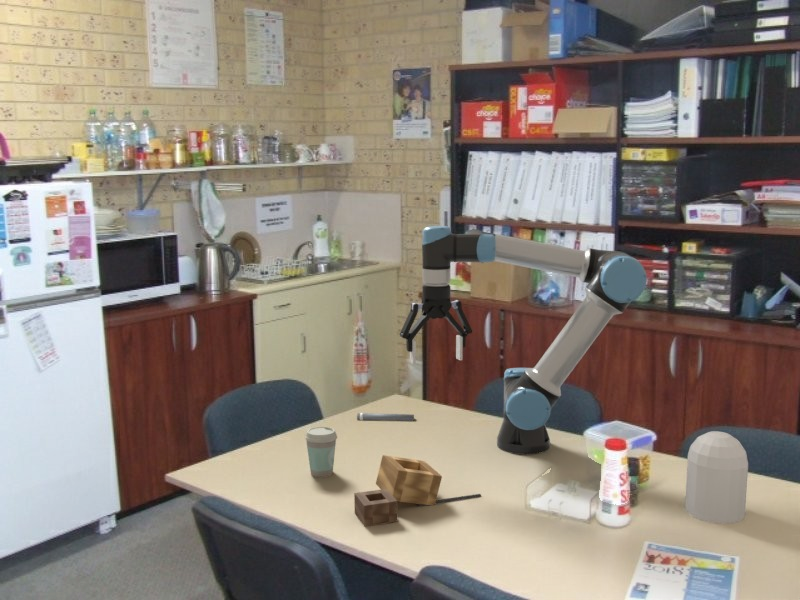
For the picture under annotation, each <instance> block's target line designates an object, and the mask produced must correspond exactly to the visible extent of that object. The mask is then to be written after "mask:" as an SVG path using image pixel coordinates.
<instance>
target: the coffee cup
mask: <svg viewBox="0 0 800 600" xmlns="http://www.w3.org/2000/svg"><path fill="white" fill-rule="evenodd" d="M304 439H305V441H306V448H307V454H308V461H309V469H310V471H309V472H310V475H311V476H312V477H315V478H326V477H330V476H331V475H333V473H334V466H335V453H336V445H337V439H338V435H337V431H336V429H334V428H333V427H330V426H315V427H311V428H309V429H307V431H306V433H305V437H304Z"/></svg>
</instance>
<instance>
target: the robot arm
mask: <svg viewBox="0 0 800 600" xmlns="http://www.w3.org/2000/svg"><path fill="white" fill-rule="evenodd" d="M421 241H422V243H421V248H422V249H421V252H422V259H421V260H422V283H423V284H422V287H421V289H422V296H421V297H422V301H421V303H416V302H411V304H410V310H409V312H408V315H407V317H406V320H405V322H404V324H403V326H402V329H401V330H400V332H399V337H401V338H403V339H405V340H406V344H405V345H406V348H405V349H406V351H407V352H409V363H410V364H411V365H416V364H417V358H416V357H417V350H416V348H417V347H416V346H417V345H416V344H417V342H416V339H414V338H415V337H416V335H417V334H418V333H419V332H420V330H421V329H422V327H423V326H424V325H425V324H426V323H427V322H428V321H429V320H430V319H431V320H436V319H444V318H445V320H447V321H448V323H449V324H450V325H451V326H452V327H453V328H454V330H455V331H456V332H457V333H458V334H456V336H455V358H456V360H459V361H463V348H466V338H467V336H468V335H469V334H472V333H473V329H472V327H471V325H470V323H469V320H468V319H467V317H466V314H465V312H464V310H463V305H462V301H461V300H458V299H454V301H453V300H452V301H451V285H450V283H451V263H480V264H484V263H493V262H498V263H503V264H509V265H513V266H516V267H517V266H518V267H524V268H529V269H534V270H538V271H543V272H549V273H552V274H553V273H554V274H558V275H564V276H567V277H574V278H578V279H579V280H580V282H581V283H585V284H587V285H586V286H585V292H586V296H585V298H583V301H582V302H581V303H580V304H579V306H578V307H577V308H576V309H575V311H574V312H573V314H572V315H571V316H570V318H569V319H568V321H567V322H566V323H565V325H564V326H563V328H562V329H561V330H560V332H559V333H558V335H556V336H555V339H554V340H553V342H551V344H550V346H549V347H548V348H547V349H546V350H545V352H544V354H543V355H542V357H540V359H539V361H538V362H537V363H536V365H535V366H534V367H511V368H506V370H505V371H504V373H503V374H504V376H503V379H502V380H503V419H502V423H501V426H500V429H499V432H498V435H497V437H496V446H497V448H498V449H499V450H501V451H504V452H507V453H511V454H515V455H516V454H517V455H537V454H542V453H545V452H546V451H548V450H549V449H550V447H551V446H550V442H551V440H550V437H549V434H548V430H547V426H546V423H547V422H548V420H549V419H550V416H551V413H552V408H553V407H554V406H555V404H556V403H557V401H559V399H560V398H561V396H562V393H561V392H562V391H561V386H562V385H563V384H564V383H565V381H566V380H567V379H568V377H569V375H571V373H572V372H573V370H574V369H575V367H576V366H577V365H578V364H579V362H580V361H581V360H582V358H583V357H584V356H585V354H586V352H588V350H589V349H590V347H591V346H592V345H593V343H594V342H595V341H596V339H597V338H598V336H600V334H601V333H602V331H603V330H604V328H605V327H606V326H607V325H608V323H609V322H610V321H611V319H612V317H614V316H615V315H621V314H623V313H624V311H625V310H626V309H627V308H628V306H629V305H630V304H631V302H634V301H636V300H637V299H638V298H639V297H641V295H642V294H643V292H644V291H645V289H646V287H647V282H648V281H647V278H648V277H647V273H646V270H645V268H644V266H643V264H642V263H641V261H639V260H638V259H637V258H635V257H633V256H631V255H630V254H628V253H626V252H624V251H618V250H607V249H606V250H604V249H596V248H590V247H588V248H586V249H585V250H582V249H581V250H580V249H577V248H571V247H565V246H561V245H555V244H549V243H544V242H540V241H534V240H529V239H524V238H518V237H514V236H513V237H512V236H508V235H507V236H506V235H502V234H497V233H492V232H488V231H487V232H486V231H483V230H480V229H478V228H477V229H476V228H473V229H469V230H467V231H466V232H465V233H458V234H457V233H452V230H451V227H450V226H447V225H429V226H426V227H424V229H422V240H421ZM451 308H453V309H454V310H455V311H454V312H456V315H457V317H458V319H459V321H460V324H461V325H460V324H459V323H458V321H457V320H456V318H454V316H453V315H452V314H451V312H450V309H451ZM421 309H422V313H421V314H420V316H419V317H418V319H417V321H416V322H415V323H414V321H415V319H416V317H417V315H418V313H419V312H420V310H421ZM462 327H463V328H462Z"/></svg>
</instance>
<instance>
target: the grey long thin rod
mask: <svg viewBox="0 0 800 600" xmlns="http://www.w3.org/2000/svg"><path fill="white" fill-rule="evenodd" d="M480 497H482V494H481V493H477V494H476V493H475V494H469V495H464V496H455V497H448V498H441V499H436V503H435V504H440V503H441V504H443V503H446V502H454V501H461V500H467V499H473V498H480ZM417 506H418V507H422V506H426V505H425V504H417Z"/></svg>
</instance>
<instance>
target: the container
mask: <svg viewBox="0 0 800 600" xmlns="http://www.w3.org/2000/svg"><path fill="white" fill-rule="evenodd" d="M686 457H687V466H686V485H685V486H686V487H685V503H684V504H685V505H684V508H685V511H686V513H688V515H690V516H691V517H693V518H695V519H698V520H701V521H703V522H708V523H712V524H725V525H726V524H733V523H738V522H740V521H742V520H744V519H745V516H746V505H747V492H748V491H747V488H748V474H749V473H748V472H749V462H748V456H747V451H746V449H745V448H744V447H743V445H742V444H741V442H740V441H739V440H738V439H737V438H736V437H735V436H732V435H731V434H730V433H727V432H725V431H724V432H723V431H717V430H713V431H708V432H706V433H703V434H700V435H699V436H698V437H696V438H695V440H694V441H693V442H692V443H691V444H690V446H689V450H688V453H687V456H686Z"/></svg>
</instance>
